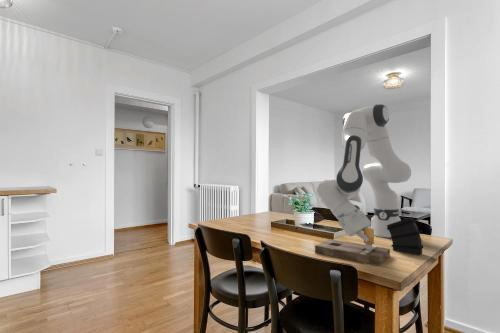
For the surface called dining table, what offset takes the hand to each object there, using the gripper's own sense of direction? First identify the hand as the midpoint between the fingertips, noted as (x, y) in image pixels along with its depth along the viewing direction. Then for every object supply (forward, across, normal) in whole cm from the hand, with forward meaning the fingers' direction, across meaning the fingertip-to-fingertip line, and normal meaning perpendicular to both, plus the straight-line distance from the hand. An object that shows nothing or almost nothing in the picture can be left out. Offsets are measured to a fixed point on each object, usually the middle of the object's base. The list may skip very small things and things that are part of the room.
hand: (370, 239), depth 111 cm
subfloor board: (0, 0, +11) cm, 11 cm away
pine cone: (-30, +45, +41) cm, 68 cm away
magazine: (+11, +18, 0) cm, 21 cm away
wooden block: (+4, 0, +5) cm, 6 cm away
